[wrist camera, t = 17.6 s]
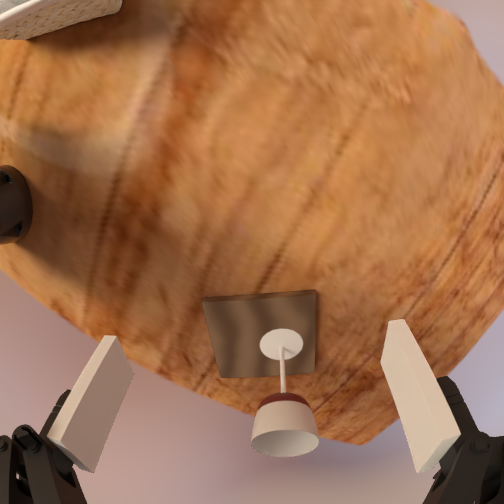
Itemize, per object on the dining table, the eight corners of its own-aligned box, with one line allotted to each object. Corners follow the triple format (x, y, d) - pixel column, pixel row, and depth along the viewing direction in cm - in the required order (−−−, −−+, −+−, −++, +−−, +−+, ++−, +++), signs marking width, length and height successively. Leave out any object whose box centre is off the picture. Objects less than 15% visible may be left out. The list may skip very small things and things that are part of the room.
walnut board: (221, 372, 56) (220, 377, 55) (203, 297, 49) (201, 302, 47) (313, 367, 55) (314, 372, 53) (314, 289, 47) (315, 294, 46)
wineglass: (262, 323, 49) (259, 426, 30) (312, 332, 49) (329, 432, 31) (251, 356, 52) (245, 453, 34) (298, 364, 52) (306, 458, 34)
